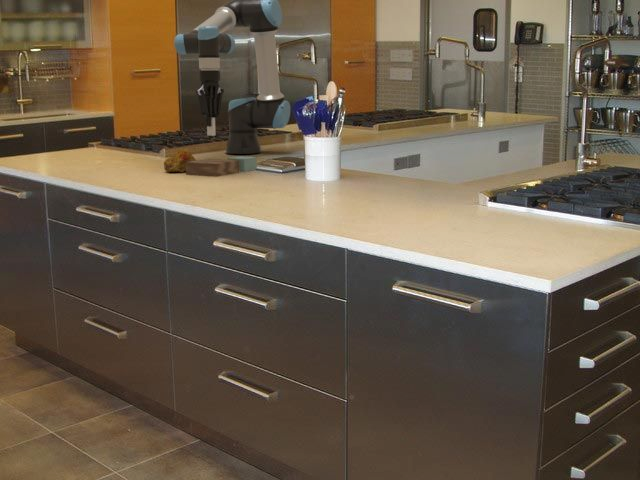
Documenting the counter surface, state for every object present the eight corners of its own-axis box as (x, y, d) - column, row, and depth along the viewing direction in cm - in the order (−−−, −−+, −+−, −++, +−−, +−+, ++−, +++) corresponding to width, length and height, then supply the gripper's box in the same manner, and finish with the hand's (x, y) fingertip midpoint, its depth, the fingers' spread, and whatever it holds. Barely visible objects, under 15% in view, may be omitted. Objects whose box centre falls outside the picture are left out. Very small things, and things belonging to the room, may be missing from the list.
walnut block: (209, 171, 338) (209, 158, 337) (239, 173, 331) (239, 160, 330) (186, 175, 327) (185, 162, 326) (216, 177, 319) (215, 163, 318)
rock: (187, 182, 332) (166, 166, 328) (178, 184, 339) (157, 169, 335) (202, 158, 335) (181, 142, 331) (193, 161, 342) (172, 145, 338)
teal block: (240, 169, 345) (239, 156, 344) (256, 170, 341) (256, 157, 340) (227, 171, 338) (227, 158, 337) (244, 172, 334) (244, 159, 333)
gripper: (213, 70, 329) (215, 134, 333) (189, 70, 318) (191, 136, 323) (229, 69, 325) (230, 134, 329) (205, 69, 314) (207, 136, 319)
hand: (211, 135), depth 326 cm, fingers closed
